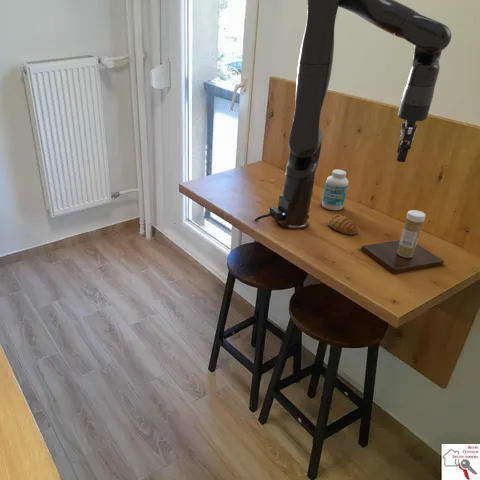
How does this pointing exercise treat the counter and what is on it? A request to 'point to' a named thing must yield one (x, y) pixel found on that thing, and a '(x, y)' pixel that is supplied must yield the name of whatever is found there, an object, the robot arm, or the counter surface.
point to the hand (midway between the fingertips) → (400, 157)
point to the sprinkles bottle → (410, 233)
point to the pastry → (343, 224)
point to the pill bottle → (335, 190)
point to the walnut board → (398, 264)
